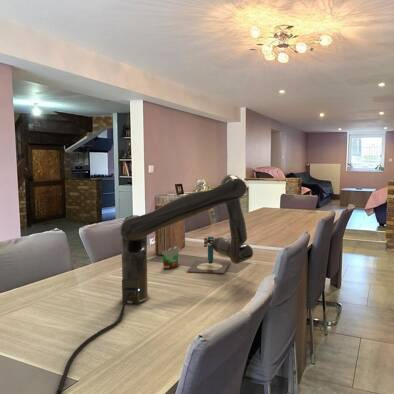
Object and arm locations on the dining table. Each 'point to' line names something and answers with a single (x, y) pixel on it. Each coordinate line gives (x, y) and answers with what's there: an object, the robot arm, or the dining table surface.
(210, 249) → the marker
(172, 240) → the brown wooden block
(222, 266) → the square plate with hole
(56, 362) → the dining table surface
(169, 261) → the potted plant
